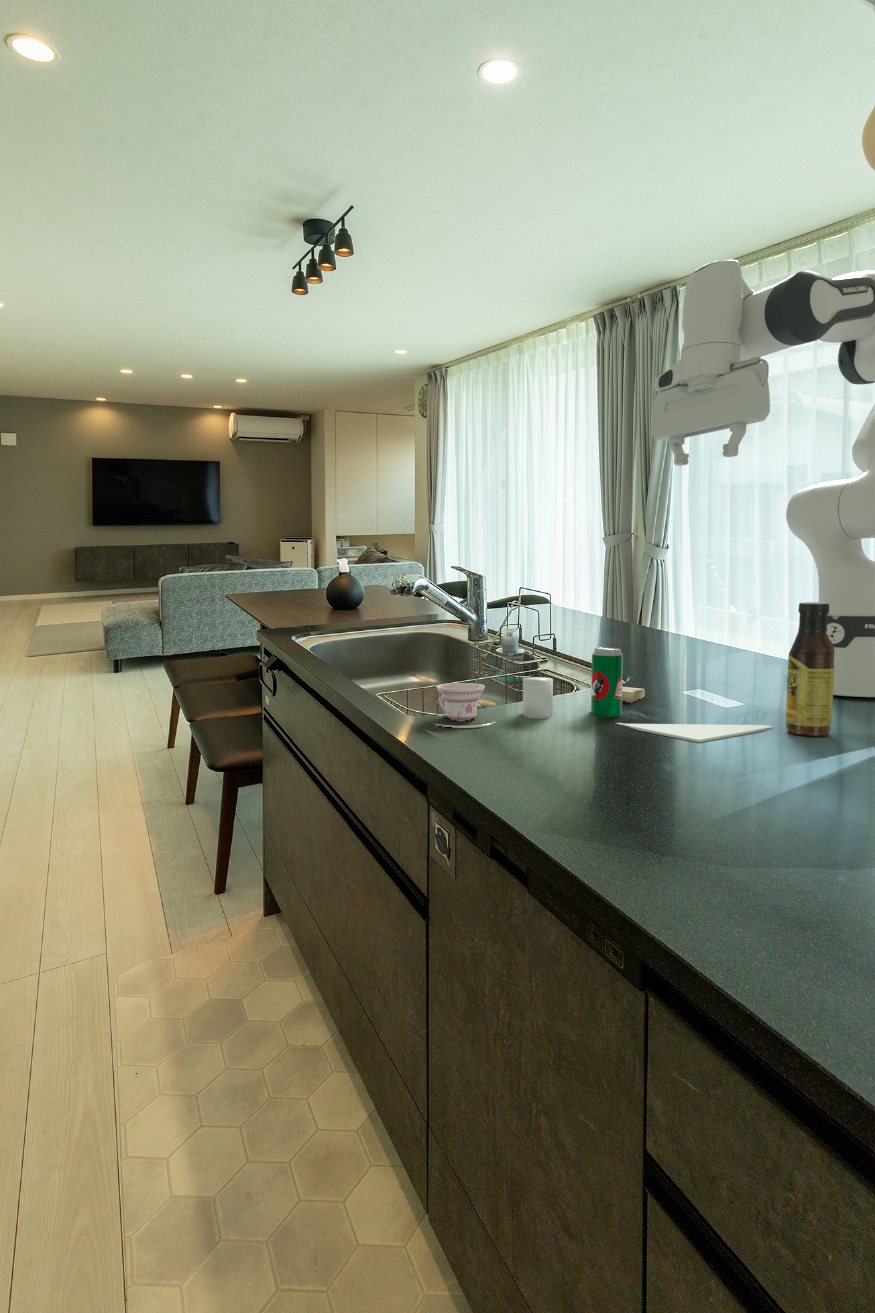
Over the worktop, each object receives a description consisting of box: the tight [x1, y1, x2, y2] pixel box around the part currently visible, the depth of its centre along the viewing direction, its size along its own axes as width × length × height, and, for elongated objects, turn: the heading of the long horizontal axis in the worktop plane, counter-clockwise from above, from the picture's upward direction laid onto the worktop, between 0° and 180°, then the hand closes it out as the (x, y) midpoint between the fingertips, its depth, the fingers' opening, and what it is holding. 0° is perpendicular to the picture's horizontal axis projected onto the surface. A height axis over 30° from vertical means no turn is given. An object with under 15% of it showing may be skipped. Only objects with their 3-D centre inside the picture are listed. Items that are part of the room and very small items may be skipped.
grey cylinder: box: [522, 676, 554, 720], centre depth 124 cm, size 5×5×7 cm
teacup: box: [434, 682, 496, 729], centre depth 123 cm, size 12×12×6 cm
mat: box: [616, 722, 774, 743], centre depth 118 cm, size 18×18×1 cm
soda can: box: [590, 647, 624, 718], centre depth 124 cm, size 5×5×12 cm
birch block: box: [622, 686, 646, 704], centre depth 134 cm, size 5×5×4 cm
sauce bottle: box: [785, 601, 835, 737], centre depth 111 cm, size 6×6×20 cm
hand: (704, 460), depth 117 cm, fingers open, 8 cm apart
